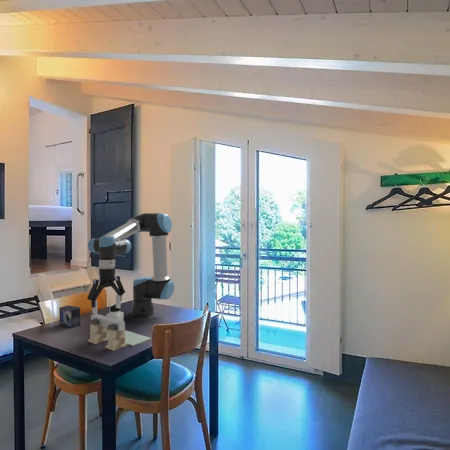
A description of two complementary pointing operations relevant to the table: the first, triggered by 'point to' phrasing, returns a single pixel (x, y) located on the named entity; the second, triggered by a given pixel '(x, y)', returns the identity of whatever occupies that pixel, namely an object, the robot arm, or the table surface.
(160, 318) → the table surface
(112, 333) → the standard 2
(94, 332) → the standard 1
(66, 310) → the small box
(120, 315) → the medicine bottle
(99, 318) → the rail
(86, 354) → the table surface
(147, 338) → the mat
